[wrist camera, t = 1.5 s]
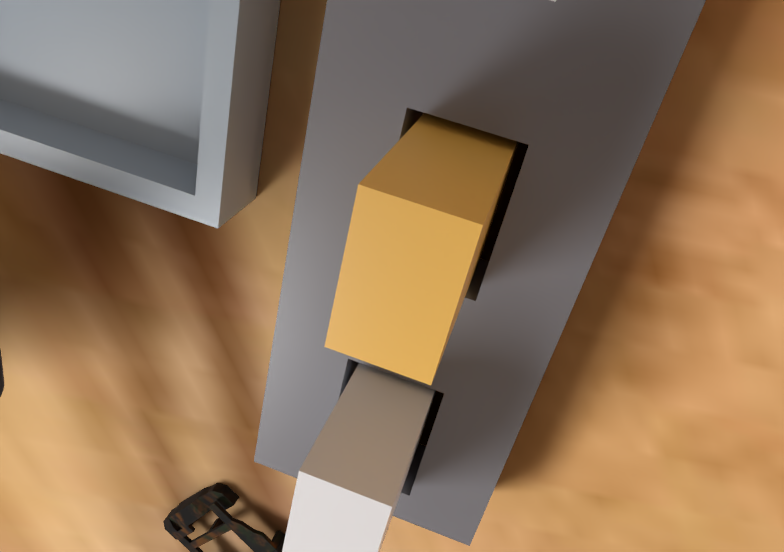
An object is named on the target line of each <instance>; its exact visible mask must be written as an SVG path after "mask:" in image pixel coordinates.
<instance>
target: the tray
mask: <svg viewBox="0 0 784 552" xmlns="http://www.w3.org/2000/svg"><path fill="white" fill-rule="evenodd" d="M280 1H281V0H0V153H1V154H4V155H7V156H10V157H12V158H15V159H18V160H21V161H24V162H27V163H30V164H33V165H36V166H38V167H41V168H44V169H47V170H50V171H53V172H56V173H59V174H62V175H64V176H67V177H70V178H73V179H76V180H79V181H82V182H85V183H88V184H91V185H93V186H96V187H99V188H102V189H105V190H108V191H111V192H114V193H117V194H119V195H122V196H125V197H128V198H131V199H134V200H137V201H140V202H143V203H146V204H148V205H151V206H154V207H157V208H160V209H163V210H166V211H169V212H172V213H174V214H177V215H180V216H183V217H186V218H189V219H192V220H195V221H198V222H201V223H203V224H206V225H209V226H212V227H215V228H219V227H221V226H222V225H223V224H224V223H226V222H227V221H228V220H229V219H231V218H232V217H233V216H234V215H235V214H237V213H238V212H239V211H240V210H242V209H243V208H244V207H245V206H247V205H248V204H249V203H250V202H252V201H253V200H254V199H255V198H256V193H257V185H258V177H259V169H260V161H261V153H262V145H263V137H264V129H265V121H266V113H267V105H268V97H269V89H270V81H271V73H272V65H273V57H274V49H275V41H276V33H277V25H278V17H279V9H280Z"/></svg>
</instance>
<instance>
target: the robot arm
mask: <svg viewBox="0 0 784 552" xmlns="http://www.w3.org/2000/svg"><path fill="white" fill-rule="evenodd" d="M3 389H4V376H3V367H2V357H1V350H0V397H1V395H2V392H3Z"/></svg>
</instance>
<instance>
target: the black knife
mask: <svg viewBox="0 0 784 552" xmlns="http://www.w3.org/2000/svg"><path fill="white" fill-rule="evenodd" d="M238 498H239V496H238V495H237V494H236V493H234V492H233V491H232V490H231V489H230V488H229V487H228V486H227V485H223V484H220V483H216V484H215V485H213V486H211V487H207V488H204V489H202V490H201V491H199V492H197V493H196V494H194V495H192V496H191V497H189V498H187V499H186V500H184V501H182V502H181V503H180V504H179V505H178V506H177V507H176V508H174V509H173V510H172V511H171V512H170V513H169V515H168V516H167V517H166V519H165V520H164V527H165V530H167V531H168V532H169V533H170V534H171V535H172V536H173V537H174V538H175V539H176V540H177V539H178V540H179V541H180V542H181V543H182V544H183V545H184V546H185V547H186V548H187V549H188V550H189V551H190V552H203V551H202V550H201V549H200V548H199V546H201V545H203V544H205V543H207V542H208V541H210V540H212V539H214V538H216V537H218V536H220V535H222V534H224V533H226V532H228V531H229V530H232V531H233V532H234V533H236V534H237V535H238V536H239V537H240V538H241V539H242V540H243V541H244V542H245V543H246V544H247V545H248V546H249V547H250V548H251V549H252V550H253V551H254V552H282V549H283V545H284V540H285V535H286V534H284V533H283V532H282V531H281V530H279V531H277V532H276V534H275V535H274V537H273V539H272V541H271V540H270V539H269V538H268V537H267V536H266V535H265V534H264V533H263V532H260V531H258V530H255V529H253V528H252V527H250V526H249V525H247V524H246V523H244V522H243V521H240V520H238V519H235V518H233V517H232V516H231V515H230V514H229V513H228V512H227V511H226V509H228V508H230V507H231V506H233V505H234V504H235V503H236V501H237V499H238ZM210 510H212V511H213V512H214V513H215V514H216V515H217V516H218V517H219V518H218V519H216V521H215V522H214V524H213V525H212V527H211V528H210V530H209V531H208V532H207V533H205V534H203V535H201V536H199V537H197V538H196V539H194V540H191V539H190V538H189V537H188V536H187V535H189V534H190V533H192V532H194V530H195V528H194V527H193V526H192V524H193V522H194V521H196V520H198V519H199V518H201V517H202V516H204V515H205V514H206V513H207V512H209V511H210Z"/></svg>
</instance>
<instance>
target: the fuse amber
mask: <svg viewBox="0 0 784 552" xmlns="http://www.w3.org/2000/svg"><path fill="white" fill-rule="evenodd" d="M518 143H519V142H518V141H515V140H511V139H508V138H505V137H502V136H498V135H495V134H492V133H489V132H485V131H482V130H479V129H476V128H472V127H469V126H466V125H463V124H459V123H456V122H453V121H449V120H446V119H443V118H440V117H436V116H433V115H430V114H427V113H424V114H423V115H422V116H421V117H420V118H419V119H418V121H417V122H416V123H415V124H414V125H413V126H412V127H411V128H410V129H409V130H408V131H407V132H406V133H405V135H404V136H403V137H402V138H401V139H400V140H399V141H398V142H397V143H396V144H395V145H394V146H393V147H392V149H391V150H390V151H389V152H388V153H387V154H386V155H385V156H384V157H383V158H382V159H381V160H380V161H379V163H378V164H377V165H376V166H375V167H374V168H373V169H372V170H371V171H370V172H369V173H368V174H367V175H366V176H365V178H364V179H363V180H362V181H361V182H360V183H359V184H358V188H357V193H356V197H355V202H354V207H353V212H352V217H351V221H350V226H349V231H348V236H347V241H346V245H345V250H344V255H343V260H342V264H341V269H340V274H339V279H338V284H337V288H336V293H335V298H334V303H333V308H332V312H331V317H330V322H329V327H328V332H327V336H326V341H325V346H324V347H326V348H329V349H332V350H335V351H337V352H340V353H343V354H346V355H348V356H351V357H354V358H357V359H359V360H362V361H365V362H368V363H370V364H373V365H376V366H379V367H381V368H384V369H387V370H390V371H392V372H395V373H398V374H401V375H403V376H406V377H409V378H412V379H414V380H417V381H420V382H423V383H425V384H428V385H431V384H432V382H433V379H434V376H435V374H436V371H437V369H438V366H439V363H440V361H441V358H442V356H443V353H444V350H445V348H446V345H447V343H448V340H449V337H450V335H451V332H452V330H453V327H454V324H455V322H456V319H457V316H458V314H459V311H460V309H461V306H462V303H463V301H464V298H465V296H466V293H467V290H468V288H469V285H470V283H471V280H472V277H473V275H474V272H475V270H476V267H477V264H478V262H479V259H480V256H481V254H482V251H483V249H484V246H485V243H486V239H487V236H488V233H489V230H490V227H491V224H492V221H493V218H494V215H495V212H496V209H497V206H498V203H499V200H500V197H501V194H502V191H503V188H504V185H505V182H506V179H507V176H508V173H509V170H510V167H511V164H512V161H513V158H514V155H515V152H516V149H517V146H518Z"/></svg>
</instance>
